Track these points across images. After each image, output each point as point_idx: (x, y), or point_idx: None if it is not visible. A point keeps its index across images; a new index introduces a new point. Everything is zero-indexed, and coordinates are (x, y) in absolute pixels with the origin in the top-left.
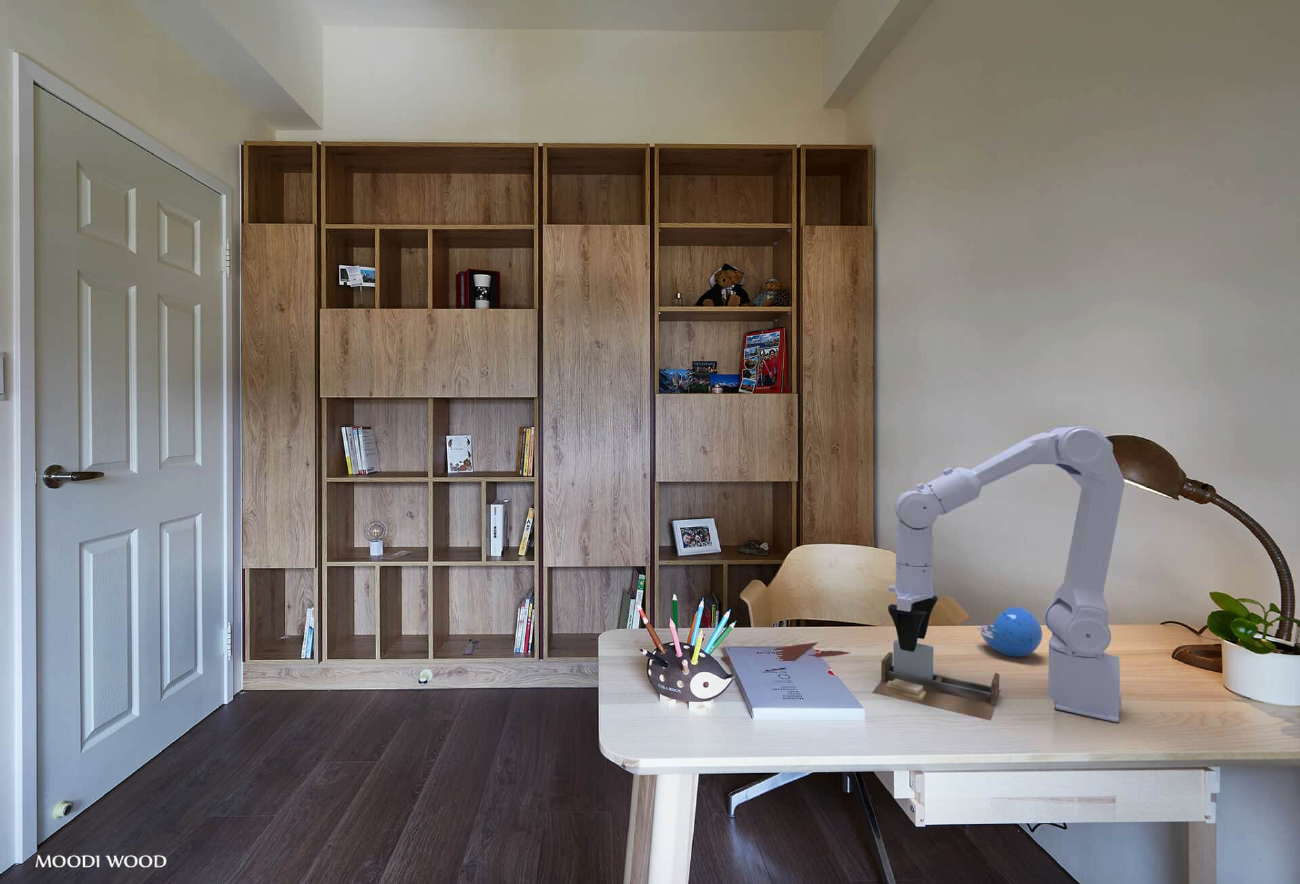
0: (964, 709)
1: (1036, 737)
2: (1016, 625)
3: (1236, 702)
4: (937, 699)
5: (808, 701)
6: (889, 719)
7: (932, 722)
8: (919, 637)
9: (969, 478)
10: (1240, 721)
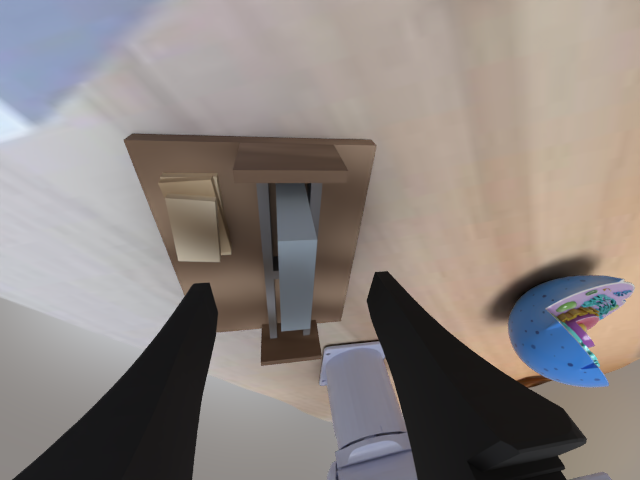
0: None
1: (216, 354)
2: (544, 364)
3: None
4: (221, 270)
5: None
6: (46, 205)
7: (132, 269)
8: (371, 293)
9: None
10: None
